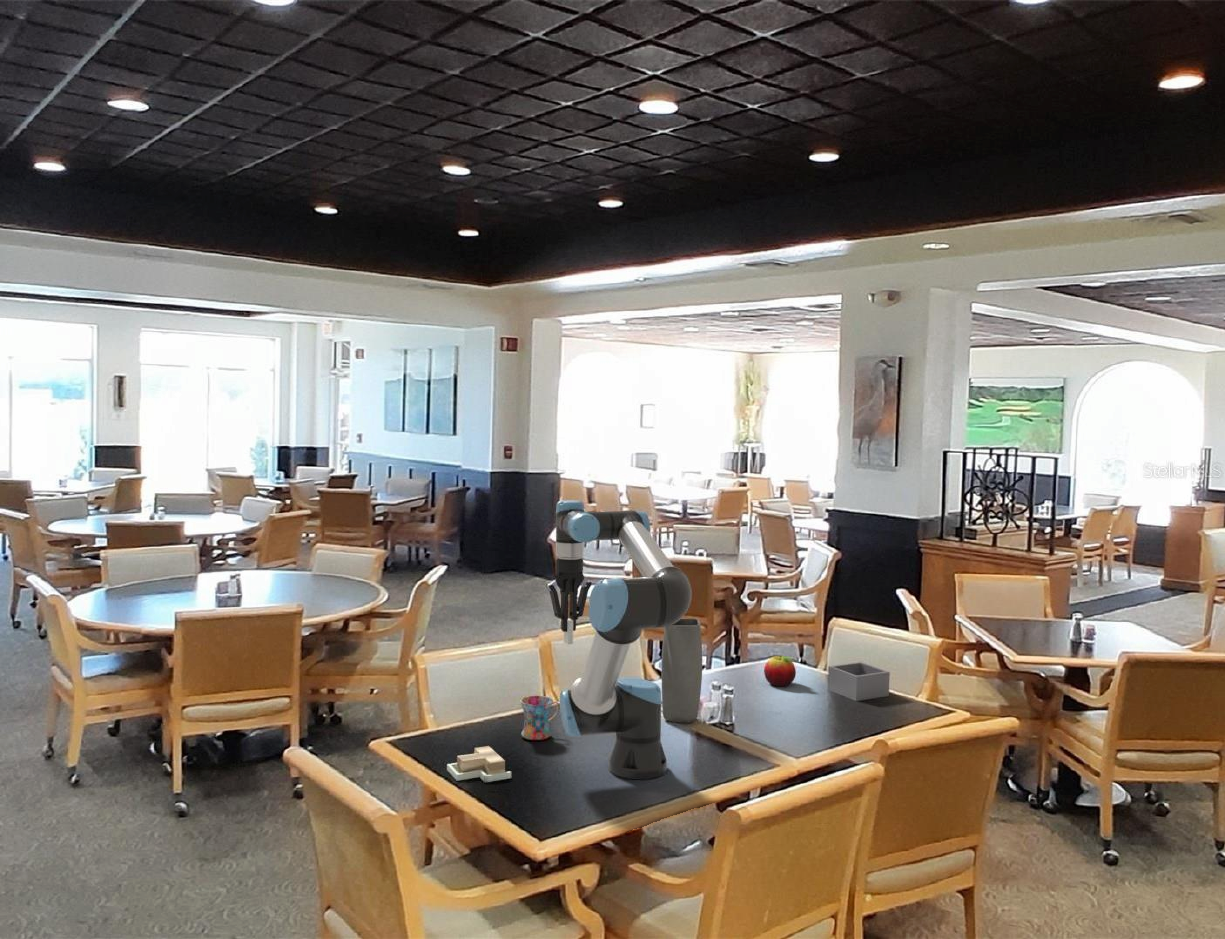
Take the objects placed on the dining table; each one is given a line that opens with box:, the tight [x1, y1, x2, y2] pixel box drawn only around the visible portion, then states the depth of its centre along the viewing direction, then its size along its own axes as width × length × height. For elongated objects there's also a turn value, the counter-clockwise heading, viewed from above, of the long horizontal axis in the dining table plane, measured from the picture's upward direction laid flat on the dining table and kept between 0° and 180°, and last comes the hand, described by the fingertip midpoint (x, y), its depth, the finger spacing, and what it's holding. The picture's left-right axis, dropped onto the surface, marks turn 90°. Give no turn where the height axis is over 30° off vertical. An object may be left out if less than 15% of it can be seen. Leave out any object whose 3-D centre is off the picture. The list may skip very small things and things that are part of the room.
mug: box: [519, 695, 560, 741], centre depth 280 cm, size 12×9×11 cm
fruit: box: [763, 654, 797, 687], centre depth 336 cm, size 11×11×10 cm
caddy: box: [827, 661, 891, 702], centre depth 328 cm, size 14×14×8 cm
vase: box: [660, 617, 703, 724], centre depth 296 cm, size 12×12×30 cm
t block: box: [456, 745, 506, 775], centre depth 253 cm, size 12×10×4 cm
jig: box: [446, 762, 512, 783], centre depth 253 cm, size 16×13×2 cm
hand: (568, 642), depth 269 cm, fingers closed
